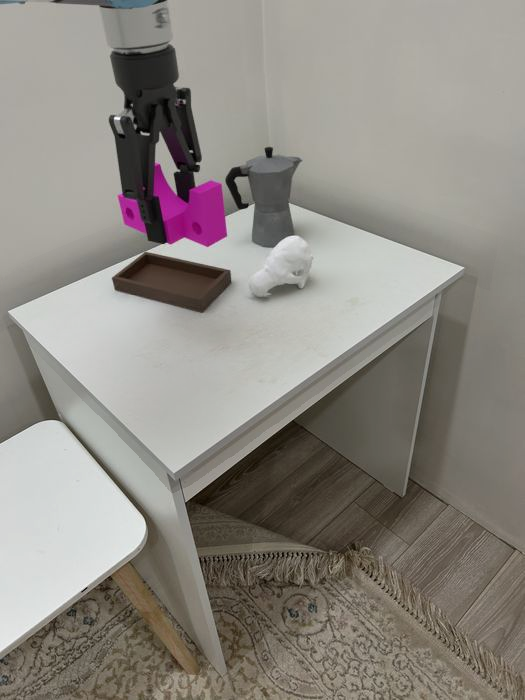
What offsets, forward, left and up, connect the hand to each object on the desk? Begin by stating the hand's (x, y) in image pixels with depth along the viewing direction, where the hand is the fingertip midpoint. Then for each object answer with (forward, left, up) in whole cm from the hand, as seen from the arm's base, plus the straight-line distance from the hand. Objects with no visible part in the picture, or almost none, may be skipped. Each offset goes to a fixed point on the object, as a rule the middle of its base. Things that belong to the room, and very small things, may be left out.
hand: (174, 228), depth 77 cm
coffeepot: (-2, +32, -18) cm, 36 cm away
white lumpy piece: (+8, +16, -18) cm, 25 cm away
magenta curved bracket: (0, 0, 0) cm, 0 cm away
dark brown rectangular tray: (-10, +9, -17) cm, 22 cm away
